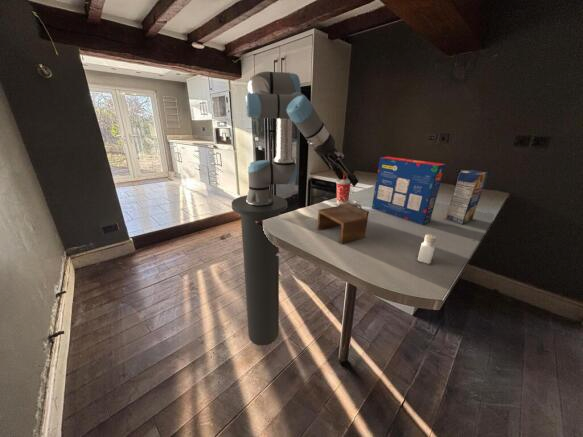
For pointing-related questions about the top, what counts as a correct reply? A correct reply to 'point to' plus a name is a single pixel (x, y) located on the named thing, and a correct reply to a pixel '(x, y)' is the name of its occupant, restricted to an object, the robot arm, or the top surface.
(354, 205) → the cup
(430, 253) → the pepper shaker
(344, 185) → the beverage cup
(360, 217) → the shelf
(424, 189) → the blue flat box
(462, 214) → the juice carton
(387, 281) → the top surface
